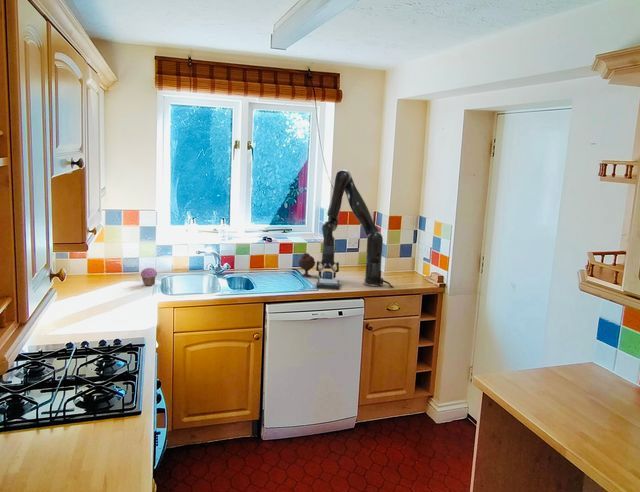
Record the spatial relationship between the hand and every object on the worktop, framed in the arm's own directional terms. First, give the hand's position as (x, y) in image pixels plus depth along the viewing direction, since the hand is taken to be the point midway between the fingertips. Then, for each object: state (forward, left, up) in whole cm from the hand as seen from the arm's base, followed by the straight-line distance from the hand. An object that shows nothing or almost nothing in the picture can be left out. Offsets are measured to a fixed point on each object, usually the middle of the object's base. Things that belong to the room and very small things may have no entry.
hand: (327, 277), depth 293 cm
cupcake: (+102, +33, -2) cm, 107 cm away
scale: (-1, +13, -2) cm, 13 cm away
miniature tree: (+14, -8, -2) cm, 16 cm away
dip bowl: (0, 0, -2) cm, 2 cm away
